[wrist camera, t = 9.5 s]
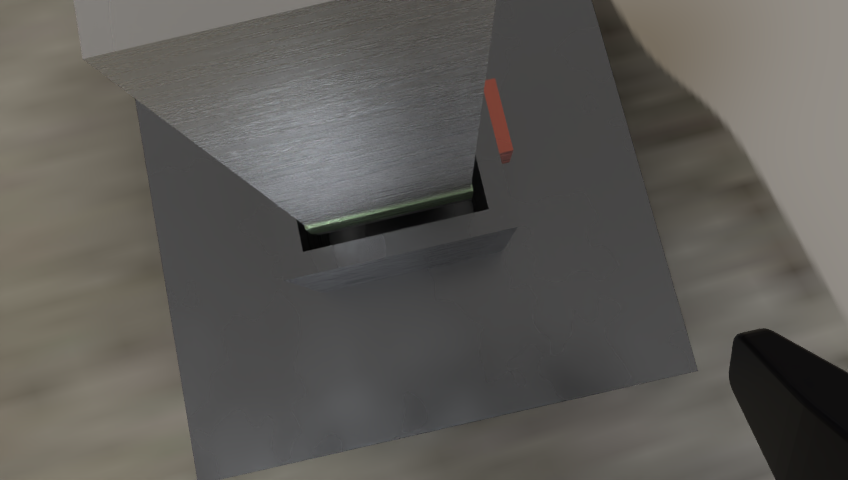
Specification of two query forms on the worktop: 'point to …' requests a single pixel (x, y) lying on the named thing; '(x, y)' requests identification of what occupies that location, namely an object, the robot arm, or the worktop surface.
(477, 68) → the column
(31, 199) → the worktop surface
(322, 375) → the stand
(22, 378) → the worktop surface
